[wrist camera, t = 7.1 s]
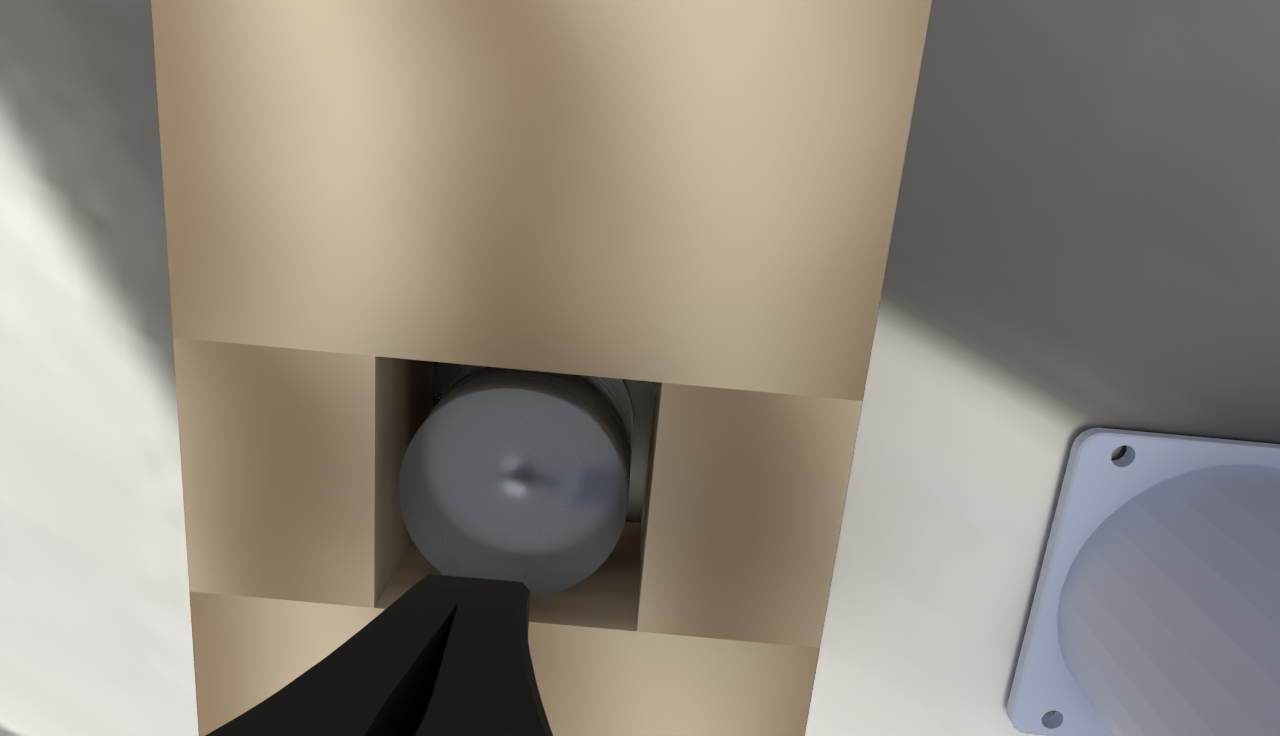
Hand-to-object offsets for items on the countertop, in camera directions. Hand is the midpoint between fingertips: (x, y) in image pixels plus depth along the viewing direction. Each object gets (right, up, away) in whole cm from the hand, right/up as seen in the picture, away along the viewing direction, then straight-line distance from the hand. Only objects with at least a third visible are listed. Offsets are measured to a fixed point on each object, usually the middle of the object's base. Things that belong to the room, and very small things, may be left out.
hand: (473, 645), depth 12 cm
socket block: (0, +8, +7) cm, 11 cm away
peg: (0, +3, +9) cm, 10 cm away
